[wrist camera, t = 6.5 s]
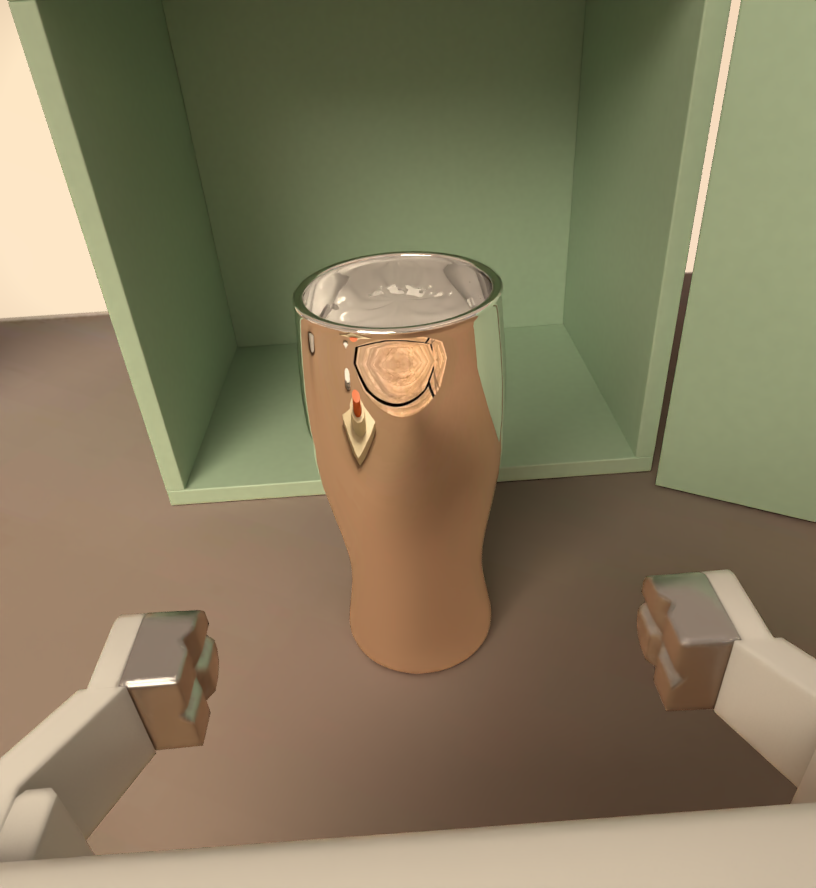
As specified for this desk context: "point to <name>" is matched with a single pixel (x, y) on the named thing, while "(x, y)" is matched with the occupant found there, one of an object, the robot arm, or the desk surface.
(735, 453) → the green cabinet door
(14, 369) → the desk surface
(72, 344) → the desk surface
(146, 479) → the desk surface
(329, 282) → the beer glass
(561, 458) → the green cabinet
